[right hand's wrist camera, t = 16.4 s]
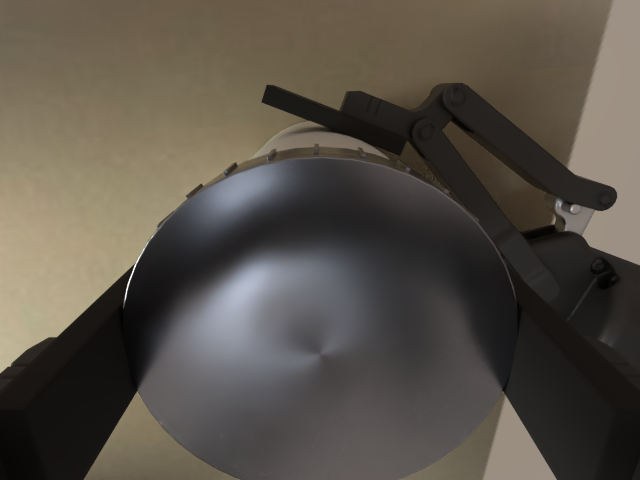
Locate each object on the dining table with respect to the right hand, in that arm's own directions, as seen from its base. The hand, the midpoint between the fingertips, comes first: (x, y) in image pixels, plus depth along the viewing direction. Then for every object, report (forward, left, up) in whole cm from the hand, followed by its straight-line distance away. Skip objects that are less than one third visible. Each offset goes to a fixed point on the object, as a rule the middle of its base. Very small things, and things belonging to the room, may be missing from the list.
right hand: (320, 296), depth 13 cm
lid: (0, 0, +3) cm, 3 cm away
